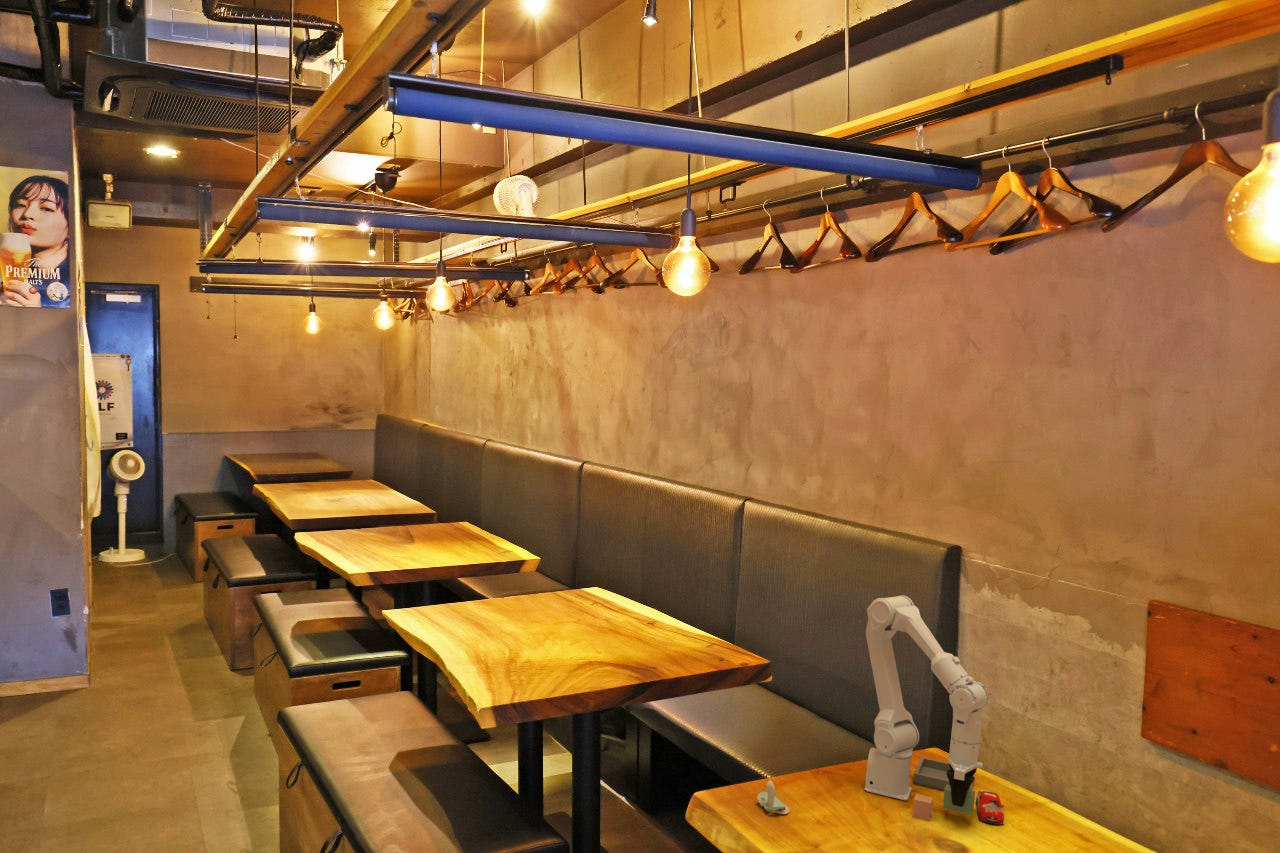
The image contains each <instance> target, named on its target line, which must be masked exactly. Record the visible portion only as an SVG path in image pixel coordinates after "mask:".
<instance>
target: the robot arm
mask: <svg viewBox="0 0 1280 853" xmlns="http://www.w3.org/2000/svg"><path fill="white" fill-rule="evenodd" d="M866 613H867V623H866V628H865V636H866V637H865V639H866V641H867V642H866V643H867V649H868V653H869V659H870V663H871V664H870V665H871V669H872V675H873V680H874V681H873V682H874V687H875V691H876V697H877V702H878V708H879V712H878V714H877V715H876V717H875V719H874V722H873V723H874V734H873V742H874V745H875V747H876V748H875V747H871V748H870V749H869V751H868V752H869V753H868V757H867V764H866V773H865V785H864V791H865V790H866V791H865V792H869V793H871V794H877V795H882V796H885V797H888V798H894V799H897V800H901V801H908V799H909V797H910V795H911V793H912V790H913V788H912V786H909V785H910V776H911V763H912V754H913V751H914V748H915V747H917V745H918V744H919V742H920V733H919V729H918V728H917V726H916V724H915V722H914V720H913V716H912V714H911V713H910V712H909V711H908V710H907V709H906V708H905V705H904V701H903V695H902V688H901V684H900V679H899V678H900V677H899V672H898V668H897V663H896V659H895V653H894V648H893V642H892V638H893V637H894V636H895V634H896V632H899V631H900V632H903V633H907V634H908V635H909V636H910V638H911V639H913V642H915V644H916V645H918V647H919V648H920V649H921V651H923V653H924V654H925V656H927V657H928V659H929V660H930V661H931V662H930V669H931V671H932V672H933V674H934V676H936V678H937V679H938V680H939V682H940V683H941V685H942V686H943V687H944V688H945V690H946V691H947V693H948V694H949V703H950V706H951V708H952V725H951V727H952V728H951V735H950V745H949V752H948V753H949V754H948V756H947V763H950V764H949V766H950V769H951V770H949V769H947V777H948V780H949V782H950V787H951V796H952V803H953V805H956V806H960V807H963V805H964V802H965V799H966V795H967V792H968V789H969V787H970V785H971V784H972V783H974V781H975V773H976V772H977V769H982V768H983V762H982V761H978V758H979V757H978V754H979V745H980V738H981V737H980V735H981V727H982V726H981V725H982V717H983V716H982V715H983V709H984V708H985V707H986V706H987V705H988V703H989V692H988V691H987V689H986V688H985V686H984V684H982V683H981V682H978V681H975V679H974V678H973V677H972V676H970V675H969V674H968V672H967V671H966V670H965V669H964V667H963V666H962V665H961V664H960V663H961V660H960V659H959V658H958V656H955V655H953V653H949V652H945V651H944V649H943V648H942V646H941V645H940V643H939V642H938V641H937V639H936V638H935V637H934V635H933V634H932V631H931V630H930V629H929V627H928V626H927V625H926V623H925V621H924V620H923V618H922V617H921V613H920V609H919V607H917V606H916V605H915V604H914V602H913V600H912V599H911V598H910V597H908V596H907V595H904V594H903V595H897V596H891V597H878V598H875V599H874V600H873V601H872V602H871V603H870V605H869V606H868V607H867V608H866ZM973 775H974V777H973Z"/></svg>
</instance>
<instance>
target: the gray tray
mask: <svg viewBox="0 0 1280 853" xmlns="http://www.w3.org/2000/svg"><path fill="white" fill-rule="evenodd" d="M949 764H950V763H949V762H948V761H947V762H946V761H943V760H941V761H940V760H936V759H932V758H928V757H923V756H921V757H920V758H919V761H918V763H917V766H916V768H915V770H914V772H913V777H912V778H913V779H912V780H913V781H912V784H913V785H915V786H920V787H925V788H929V789H931V790H932V789H933V790H937V791H942V792H944V791H945V787H946V784H947V785H950V782H949V780H948V777H947V769H949V770H951V769H950V766H949ZM973 777H975V774H974V775H973ZM973 783H974V782H973ZM973 783H972V784H971V785H970V787H969V789H968V790H972V789H973Z"/></svg>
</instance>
